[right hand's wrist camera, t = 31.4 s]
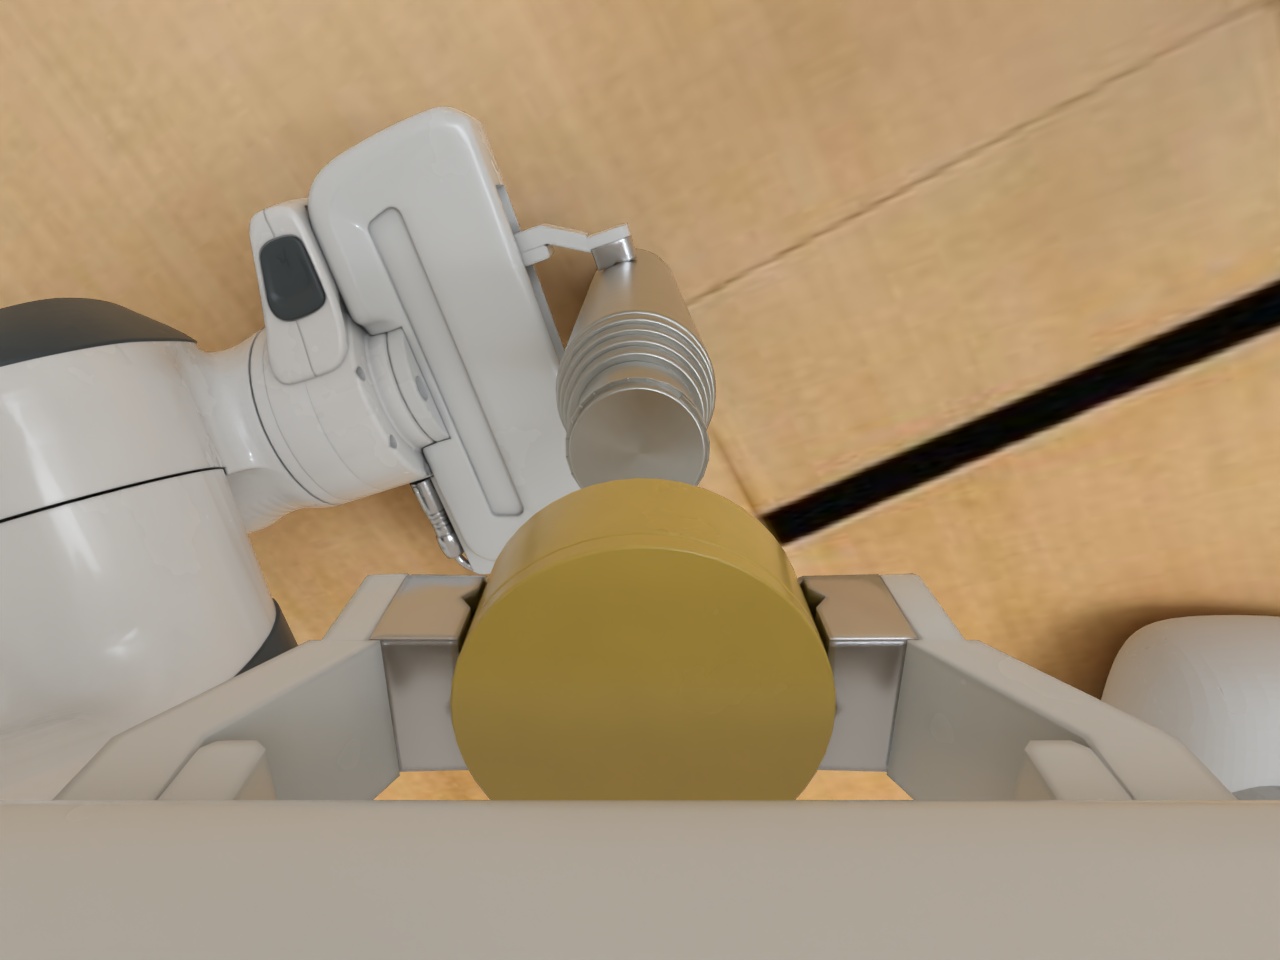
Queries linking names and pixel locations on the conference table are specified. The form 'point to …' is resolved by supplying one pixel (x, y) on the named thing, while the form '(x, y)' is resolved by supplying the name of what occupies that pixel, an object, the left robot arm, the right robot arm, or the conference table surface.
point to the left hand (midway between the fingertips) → (652, 303)
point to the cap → (642, 655)
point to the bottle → (635, 380)
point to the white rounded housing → (1209, 693)
